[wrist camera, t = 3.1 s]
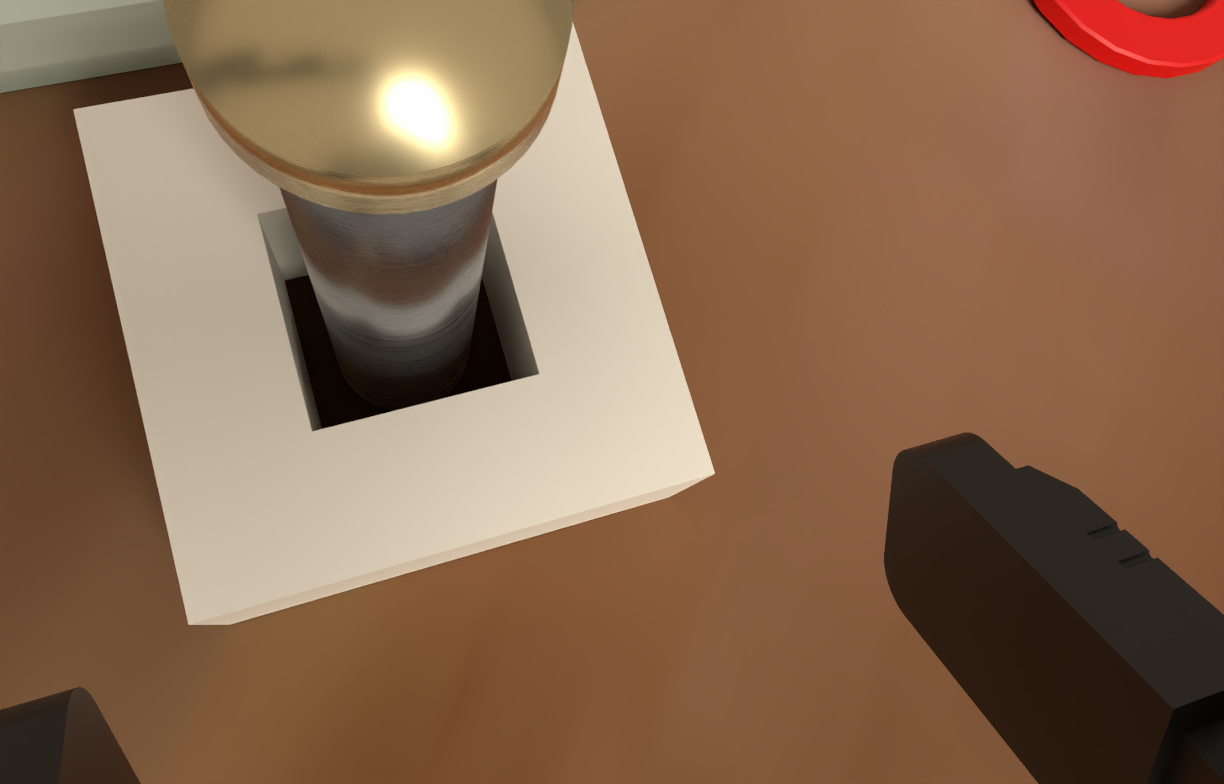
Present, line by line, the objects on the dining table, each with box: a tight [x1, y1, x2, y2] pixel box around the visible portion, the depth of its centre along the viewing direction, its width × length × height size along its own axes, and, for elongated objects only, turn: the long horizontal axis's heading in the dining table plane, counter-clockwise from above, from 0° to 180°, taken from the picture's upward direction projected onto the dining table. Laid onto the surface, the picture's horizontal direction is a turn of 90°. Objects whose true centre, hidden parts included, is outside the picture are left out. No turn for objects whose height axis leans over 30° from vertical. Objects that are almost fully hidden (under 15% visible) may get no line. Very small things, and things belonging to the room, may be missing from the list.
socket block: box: [73, 23, 715, 625], centre depth 22 cm, size 10×10×4 cm
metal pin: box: [164, 0, 573, 411], centre depth 17 cm, size 4×4×14 cm
